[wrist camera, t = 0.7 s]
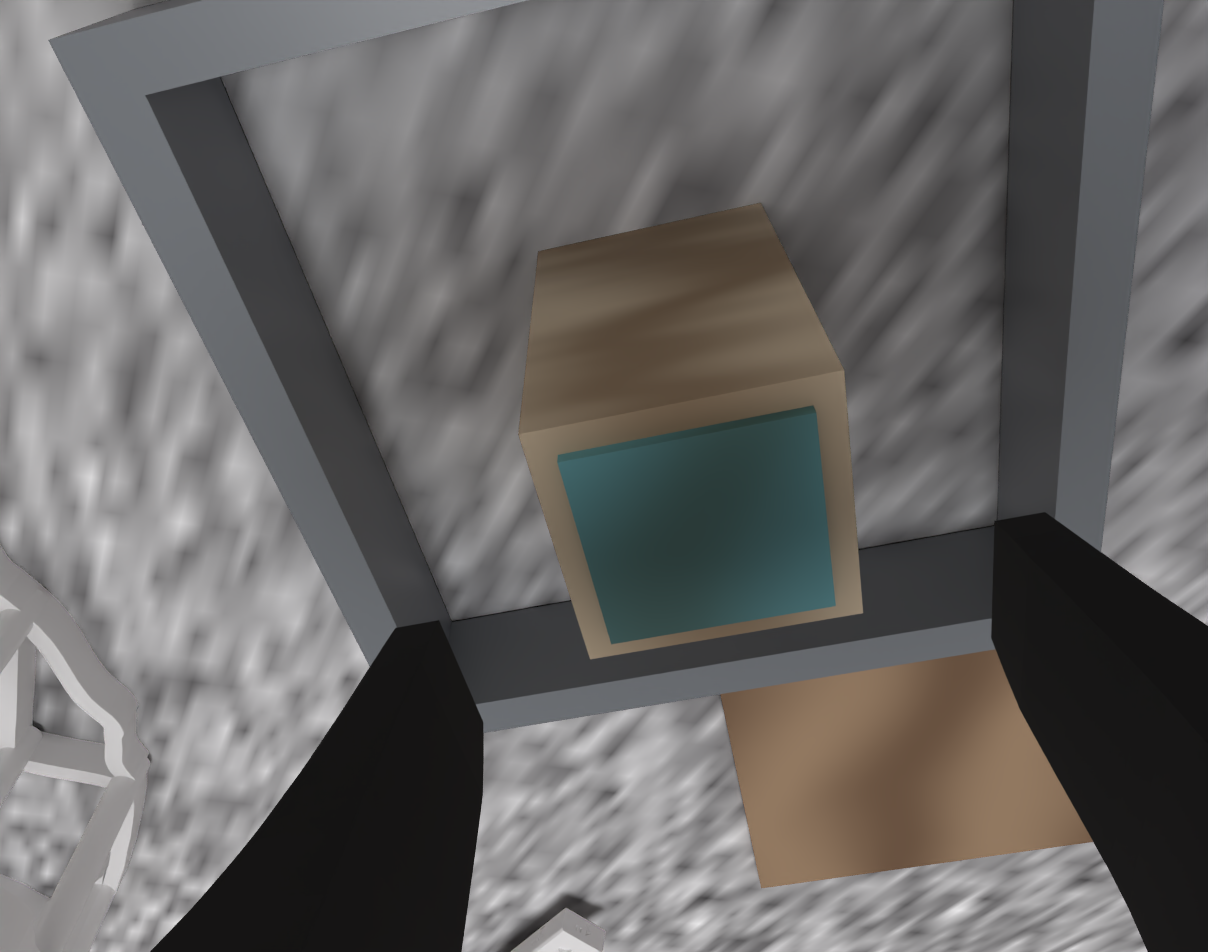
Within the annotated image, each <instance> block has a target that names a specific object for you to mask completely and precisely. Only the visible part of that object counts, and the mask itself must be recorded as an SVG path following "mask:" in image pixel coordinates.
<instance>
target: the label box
mask: <svg viewBox="0 0 1208 952" xmlns="http://www.w3.org/2000/svg"><path fill="white" fill-rule="evenodd" d="M518 435H519V438H520V441H521V444H522V448H523V451H524V454H525V457H526V460H527V463H528V466H529V470H530V473H531V476H532V479H533V482H534V485H535V488H536V491H537V495H538V498H539V501H540V504H541V507H542V510H543V513H544V517H545V520H546V523H547V526H548V529H549V532H550V535H551V538H552V542H553V545H554V548H555V551H556V554H557V557H558V560H559V564H560V567H561V570H562V573H563V576H564V579H565V582H566V585H567V589H568V592H569V595H570V598H571V601H572V604H573V607H574V611H575V614H576V617H577V620H578V623H579V626H580V629H581V633H582V636H583V639H584V642H585V645H586V648H587V651H588V654H589V658H590V659H595V658H601V657H607V656H613V655H619V654H625V653H631V652H637V651H643V650H648V649H654V648H660V647H666V646H672V645H678V644H684V643H690V642H696V641H702V640H707V639H713V638H719V637H725V636H731V635H737V634H743V633H749V632H755V631H761V630H766V629H772V628H778V627H784V626H790V625H796V624H802V623H808V622H814V621H820V620H825V619H831V618H837V617H843V616H849V615H855V614H861V613H863V605H862V592H861V579H860V567H859V554H858V541H857V528H856V515H855V503H854V490H853V477H852V464H851V451H850V438H849V426H848V413H847V400H846V387H845V374H844V369H843V367H842V365H841V363H840V361H839V359H838V357H837V355H836V353H835V351H834V349H833V347H832V345H831V343H830V341H829V339H828V337H827V335H826V333H825V331H824V329H823V327H822V325H821V323H820V321H819V319H818V317H817V315H816V313H815V311H814V309H813V307H812V305H811V303H810V301H809V299H808V297H807V295H806V293H805V291H804V289H803V287H802V285H801V283H800V281H799V279H798V277H797V275H796V273H795V271H794V269H793V267H792V265H791V263H790V261H789V259H788V257H787V255H786V253H785V251H784V249H783V247H782V245H781V243H780V241H779V239H778V237H777V235H776V233H775V231H774V229H773V227H772V225H771V223H770V221H769V219H768V217H767V215H766V213H765V211H764V209H763V207H762V205H761V203H757V204H753V205H748V206H743V207H739V208H734V209H730V210H725V211H721V212H716V213H711V214H707V215H702V216H698V217H693V218H689V219H684V220H679V221H675V222H670V223H666V224H661V225H657V226H652V227H647V228H643V229H638V230H634V231H629V232H625V233H620V234H615V235H611V236H606V237H602V238H597V239H593V240H588V241H583V242H579V243H574V244H570V245H565V246H561V247H556V248H551V249H547V250H542V251H538V259H537V268H536V277H535V286H534V295H533V304H532V314H531V323H530V332H529V341H528V350H527V359H526V369H525V378H524V387H523V396H522V405H521V415H520V424H519V433H518Z"/></svg>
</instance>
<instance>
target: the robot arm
mask: <svg viewBox="0 0 1208 952" xmlns="http://www.w3.org/2000/svg"><path fill="white" fill-rule="evenodd" d="M991 639H992V642H993V644H994V647H995V649H996V652H997V654H998V657H999V659H1000V662H1001V665H1002V667H1003V670H1004V672H1005V675H1006V677H1007V680H1008V682H1009V685H1010V687H1011V689H1012V692H1013V694H1014V697H1015V699H1016V701H1017V704H1018V706H1019V709H1020V711H1021V713H1022V714H1023V716H1024V718H1025V720H1026V722H1027V724H1028V726H1029V727H1030V729H1031V731H1032V733H1033V735H1034V736H1035V738H1036V740H1037V742H1038V744H1039V746H1040V747H1041V749H1042V751H1043V753H1044V755H1045V756H1046V758H1047V760H1048V762H1049V764H1050V765H1051V767H1052V769H1053V771H1054V773H1055V774H1056V776H1057V778H1058V780H1059V781H1060V783H1061V785H1062V787H1063V789H1064V790H1065V792H1066V794H1067V796H1068V797H1069V799H1070V801H1071V803H1072V805H1073V806H1074V808H1075V810H1076V812H1077V814H1078V815H1079V817H1080V819H1081V821H1082V822H1083V824H1084V826H1085V828H1086V830H1087V831H1088V833H1089V835H1090V837H1091V838H1092V840H1093V842H1094V844H1095V846H1096V847H1097V849H1098V851H1099V853H1100V854H1101V856H1102V858H1103V860H1104V862H1105V863H1106V865H1107V867H1108V869H1109V871H1110V872H1111V874H1112V876H1113V878H1114V880H1115V882H1116V884H1117V886H1118V888H1119V890H1120V892H1121V894H1122V896H1123V898H1124V900H1125V902H1126V904H1127V906H1128V908H1129V910H1130V912H1131V915H1132V917H1133V919H1134V921H1135V924H1136V926H1137V928H1138V930H1139V933H1140V935H1141V937H1142V940H1143V942H1144V944H1145V946H1146V949H1147V951H1148V952H1208V626H1207V625H1206V624H1204V623H1203V622H1201V621H1200V620H1198V619H1197V618H1195V617H1194V616H1192V615H1191V614H1189V613H1188V612H1186V611H1185V610H1183V609H1182V608H1180V607H1179V606H1177V605H1176V604H1174V603H1173V602H1171V601H1170V600H1168V599H1167V598H1165V597H1164V596H1162V595H1161V594H1159V593H1158V592H1156V591H1155V590H1154V589H1152V588H1151V587H1149V586H1148V585H1146V584H1145V583H1143V582H1142V581H1141V580H1139V579H1138V578H1136V577H1135V576H1134V575H1132V574H1131V573H1129V572H1128V571H1127V570H1125V569H1124V568H1122V567H1121V566H1119V565H1118V564H1117V563H1115V562H1114V561H1112V560H1111V559H1110V558H1108V557H1107V556H1106V555H1104V554H1103V553H1101V552H1100V551H1099V550H1097V549H1096V548H1094V547H1093V546H1092V545H1090V544H1089V543H1088V542H1086V541H1085V540H1083V539H1082V538H1081V537H1079V536H1078V535H1077V534H1075V533H1074V532H1072V531H1071V530H1070V529H1068V528H1067V527H1065V526H1064V525H1063V524H1061V523H1060V522H1058V521H1057V520H1056V519H1054V518H1053V517H1051V516H1050V515H1049V514H1047V513H1046V512H1042V513H1037V514H1031V515H1025V516H1020V517H1014V518H1009V519H1003V520H997V521H995V522H994V556H993V591H992V625H991ZM482 796H483V720H482V718H481V715H480V713H479V711H478V709H477V706H476V704H475V702H474V699H473V697H472V695H471V692H470V690H469V688H468V686H467V683H466V681H465V679H464V676H463V674H462V672H461V669H460V667H459V665H458V663H457V660H456V658H455V656H454V653H453V651H452V649H451V646H450V644H449V642H448V640H447V637H446V635H445V633H444V630H443V628H442V626H441V623H440V621H439V620H437V621H431V622H426V623H420V624H415V625H409V626H403V627H398V628H395V629H394V631H393V632H392V634H391V635H390V637H389V638H388V640H387V641H386V643H385V644H384V646H383V647H382V649H381V650H380V652H379V653H378V655H377V656H376V658H375V660H374V661H373V663H372V664H371V666H370V667H369V669H368V671H367V672H366V674H365V675H364V677H363V679H362V680H361V682H360V683H359V685H358V686H357V688H356V690H355V691H354V693H353V694H352V696H351V697H350V699H349V700H348V702H347V704H346V705H345V707H344V708H343V710H342V711H341V713H340V714H339V716H338V717H337V719H336V720H335V722H334V723H333V725H332V726H331V728H330V729H329V731H328V732H327V734H326V735H325V737H324V738H323V740H322V741H321V743H320V744H319V746H318V747H317V749H316V750H315V752H314V753H313V755H312V756H311V758H310V759H309V761H308V762H307V764H306V765H305V766H304V768H303V769H302V771H301V772H300V774H299V775H298V776H297V778H296V779H295V780H294V782H293V783H292V785H291V786H290V787H289V789H288V790H287V791H286V793H285V794H284V795H283V797H282V798H281V800H280V801H279V802H278V804H277V805H276V806H275V808H274V809H273V810H272V812H271V813H270V814H269V816H268V817H267V819H266V820H265V821H264V823H263V824H262V825H261V827H260V828H259V829H258V831H257V832H256V833H255V834H254V836H253V837H252V838H251V839H250V841H249V842H248V843H247V844H246V846H245V847H244V848H243V849H242V851H241V852H240V853H239V854H238V856H237V857H236V858H235V859H234V860H233V862H232V863H231V864H230V865H229V866H228V867H227V869H226V870H225V871H224V872H223V873H222V874H221V876H220V877H219V878H218V879H217V880H216V881H215V882H214V884H213V885H212V886H211V887H210V888H209V889H208V891H207V892H206V893H205V894H204V895H203V896H202V898H201V899H200V900H199V901H198V902H197V903H196V904H195V905H194V906H193V908H192V909H191V910H190V911H189V912H188V913H187V914H186V915H185V916H184V917H183V918H182V919H181V920H180V921H179V922H178V923H177V924H176V925H175V926H174V928H173V929H172V930H171V931H170V932H169V933H168V934H167V935H166V936H165V937H164V938H163V939H162V940H161V941H160V942H159V943H158V944H157V945H156V946H155V947H154V948H153V949H152V950H151V951H150V952H461V951H462V943H463V936H464V929H465V922H466V915H467V908H468V900H469V893H470V886H471V879H472V872H473V865H474V857H475V850H476V843H477V835H478V827H479V820H480V812H481V804H482Z"/></svg>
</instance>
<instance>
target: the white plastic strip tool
mask: <svg viewBox="0 0 1208 952" xmlns="http://www.w3.org/2000/svg"><path fill="white" fill-rule="evenodd" d="M605 932H606V930H604V929H602V928H601V927H599V926H597V925H595V924H594V923H592V922H590V921H588V920H587V919H585V918H583V917H581V916H580V915H578V914H576V913H575V912H573V911H571V910H569V909H568V908H565V909H563V910H562V911H561V912H560V913H558V914H557V915H556V916H555V917H553V918H552V919H551V920H550V921H548V922H547V923H546V924H545V925H543V926H542V927H541V928H539V929H538V930H537V931H536V932H534V933H533V934H532V935H531V936H529V937H528V938H527V939H526V940H524V941H523V942H522V943H521V944H519V945H518V946H517V947H516V948H514V949H513V950H512V951H511V952H602V951H603V947H604V939H605Z"/></svg>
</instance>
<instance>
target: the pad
mask: <svg viewBox="0 0 1208 952" xmlns="http://www.w3.org/2000/svg"><path fill="white" fill-rule="evenodd" d="M720 695H721V700H722V704H723V709H724V714H725V719H726V723H727V728H728V733H729V737H730V742H731V747H732V752H733V756H734V761H735V766H736V771H737V775H738V780H739V785H740V789H741V794H742V799H743V804H744V808H745V813H746V818H747V822H748V827H749V832H750V837H751V841H752V846H753V851H754V855H755V860H756V865H757V870H758V874H759V879H760V884H761V888H767V887H774V886H781V885H788V884H795V883H803V882H810V881H817V880H824V879H831V878H838V877H845V876H852V875H859V874H867V873H874V872H881V871H888V870H895V869H902V868H909V867H916V866H924V865H931V864H938V863H945V862H952V861H959V860H966V859H973V858H981V857H988V856H995V855H1002V854H1009V853H1016V852H1023V851H1030V850H1038V849H1045V848H1052V847H1059V846H1066V845H1073V844H1080V843H1087V842H1093V840H1092V838H1091V837H1090V835H1089V833H1088V831H1087V830H1086V828H1085V826H1084V824H1083V822H1082V821H1081V819H1080V817H1079V815H1078V814H1077V812H1076V810H1075V808H1074V806H1073V805H1072V803H1071V801H1070V799H1069V797H1068V796H1067V794H1066V792H1065V790H1064V789H1063V787H1062V785H1061V783H1060V781H1059V780H1058V778H1057V776H1056V774H1055V773H1054V771H1053V769H1052V767H1051V765H1050V764H1049V762H1048V760H1047V758H1046V756H1045V755H1044V753H1043V751H1042V749H1041V747H1040V746H1039V744H1038V742H1037V740H1036V738H1035V736H1034V735H1033V733H1032V731H1031V729H1030V727H1029V726H1028V724H1027V722H1026V720H1025V718H1024V716H1023V714H1022V713H1021V711H1020V709H1019V706H1018V704H1017V701H1016V699H1015V697H1014V694H1013V692H1012V689H1011V687H1010V685H1009V682H1008V680H1007V677H1006V675H1005V672H1004V670H1003V667H1002V665H1001V662H1000V659H999V657H998V654H997V652H996V649H994V650H988V651H982V652H976V653H969V654H963V655H957V656H951V657H945V658H939V659H933V660H927V661H920V662H914V663H908V664H902V665H896V666H890V667H884V668H878V669H871V670H865V671H859V672H853V673H847V674H841V675H835V676H829V677H823V678H816V679H810V680H804V681H798V682H792V683H786V684H780V685H774V686H767V687H761V688H755V689H749V690H743V691H737V692H731V693H725V694H720Z"/></svg>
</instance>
